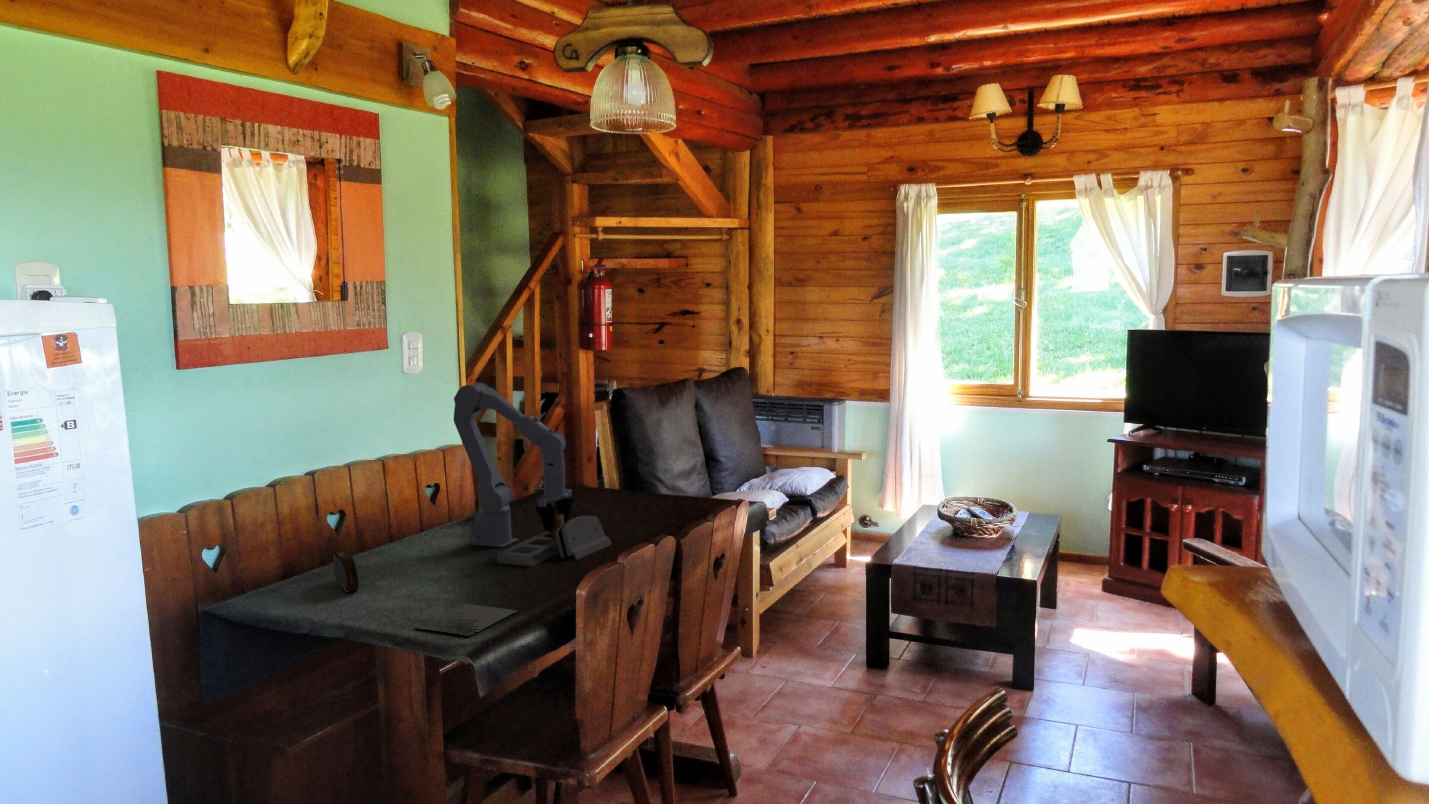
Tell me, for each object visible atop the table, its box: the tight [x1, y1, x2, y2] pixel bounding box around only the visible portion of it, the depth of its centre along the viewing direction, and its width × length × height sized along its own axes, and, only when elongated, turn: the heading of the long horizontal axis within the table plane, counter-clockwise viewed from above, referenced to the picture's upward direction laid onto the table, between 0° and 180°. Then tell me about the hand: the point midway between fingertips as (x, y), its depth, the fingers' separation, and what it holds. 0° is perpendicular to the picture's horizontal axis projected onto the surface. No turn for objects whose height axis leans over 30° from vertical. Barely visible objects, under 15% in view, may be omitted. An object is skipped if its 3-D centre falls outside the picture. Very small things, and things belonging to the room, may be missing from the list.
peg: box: [549, 512, 564, 538], centre depth 265 cm, size 4×4×8 cm
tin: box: [331, 548, 359, 592], centre depth 230 cm, size 15×3×8 cm, turn 32°
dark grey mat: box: [445, 603, 518, 635], centre depth 210 cm, size 23×25×1 cm
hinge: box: [555, 515, 612, 560], centre depth 258 cm, size 17×5×10 cm, turn 153°
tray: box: [496, 530, 560, 567], centre depth 258 cm, size 10×26×2 cm, turn 159°
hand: (556, 527), depth 265 cm, fingers open, 7 cm apart
